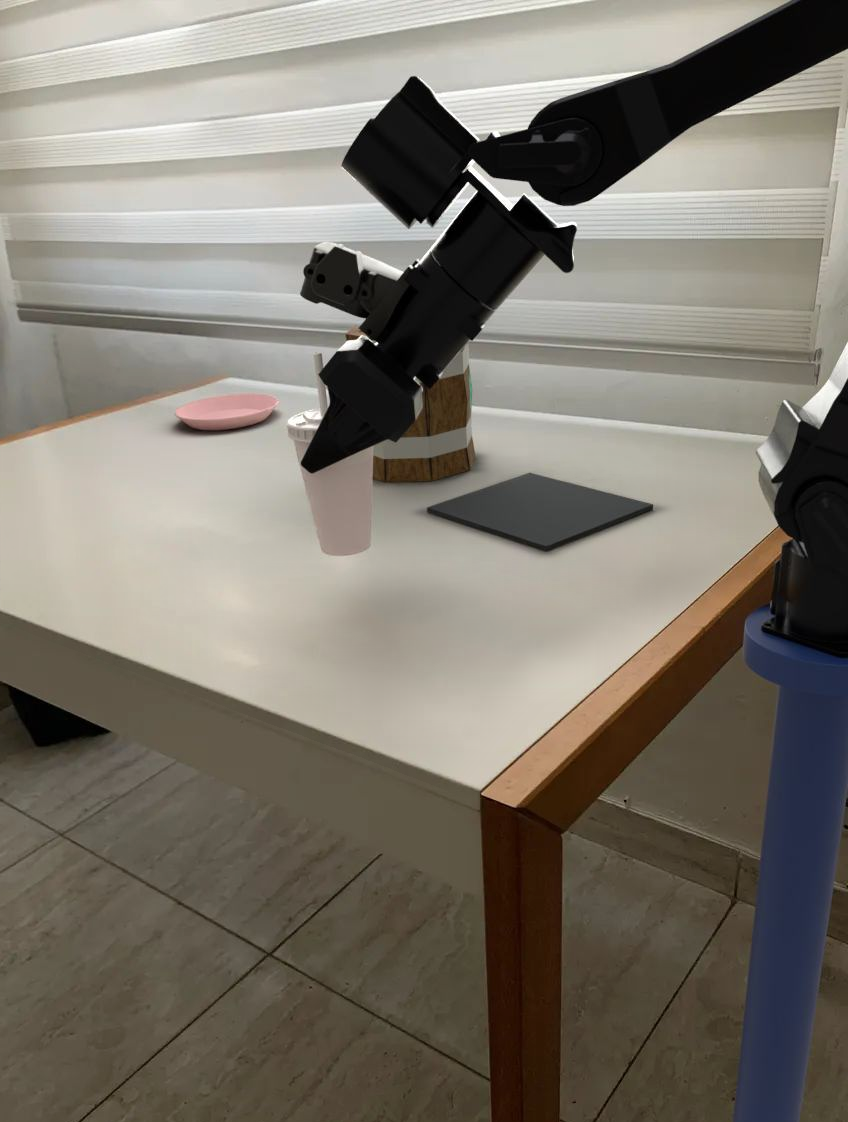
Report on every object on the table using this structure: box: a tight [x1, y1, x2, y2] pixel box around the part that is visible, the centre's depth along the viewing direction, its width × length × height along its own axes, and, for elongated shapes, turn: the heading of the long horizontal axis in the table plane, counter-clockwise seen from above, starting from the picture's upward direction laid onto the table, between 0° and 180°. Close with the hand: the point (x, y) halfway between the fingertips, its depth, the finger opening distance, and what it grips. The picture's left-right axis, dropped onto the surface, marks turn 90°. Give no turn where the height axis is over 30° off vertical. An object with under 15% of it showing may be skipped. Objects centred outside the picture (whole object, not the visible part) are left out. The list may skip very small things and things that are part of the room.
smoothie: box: [286, 351, 374, 557], centre depth 72 cm, size 6×6×14 cm
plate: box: [174, 393, 280, 431], centre depth 140 cm, size 14×14×2 cm
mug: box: [344, 323, 476, 483], centre depth 113 cm, size 20×14×15 cm
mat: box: [426, 472, 654, 552], centre depth 97 cm, size 16×14×1 cm
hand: (316, 454), depth 72 cm, fingers closed on smoothie, 6 cm apart
